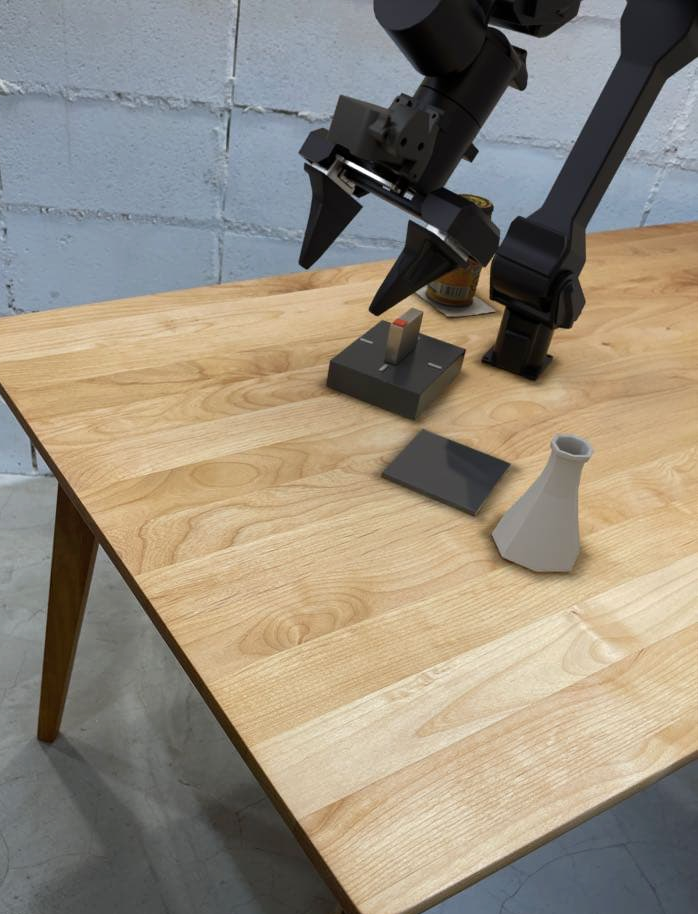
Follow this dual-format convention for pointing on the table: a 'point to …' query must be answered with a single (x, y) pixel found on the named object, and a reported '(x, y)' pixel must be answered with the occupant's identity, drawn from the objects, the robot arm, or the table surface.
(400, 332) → the knob
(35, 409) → the table surface
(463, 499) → the coaster
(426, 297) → the condiment
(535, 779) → the table surface
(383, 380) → the panel
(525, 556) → the flask
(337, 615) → the table surface
